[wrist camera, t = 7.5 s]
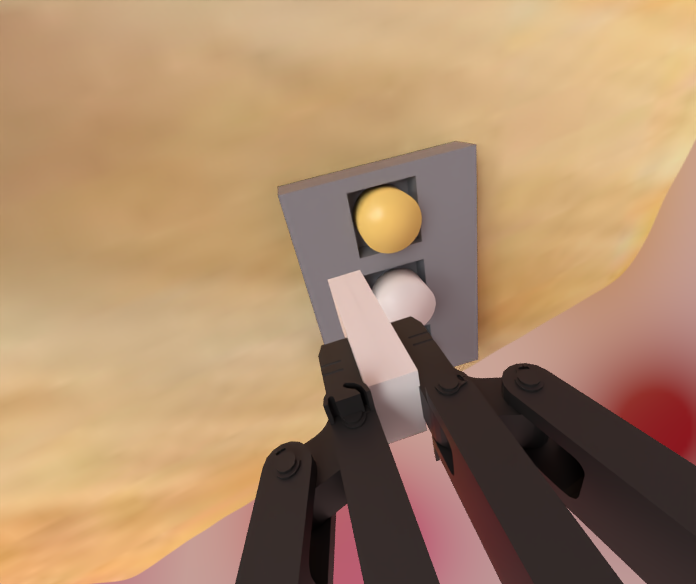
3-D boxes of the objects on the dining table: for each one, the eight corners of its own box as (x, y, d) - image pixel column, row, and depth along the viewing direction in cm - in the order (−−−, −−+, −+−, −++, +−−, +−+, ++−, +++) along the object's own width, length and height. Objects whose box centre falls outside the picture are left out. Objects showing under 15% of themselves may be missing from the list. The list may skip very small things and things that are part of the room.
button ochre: (347, 192, 24) (355, 200, 22) (404, 177, 25) (418, 184, 22) (358, 246, 27) (366, 260, 24) (410, 232, 27) (424, 244, 24)
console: (277, 186, 25) (277, 195, 22) (455, 141, 26) (476, 144, 23) (336, 378, 35) (341, 400, 32) (463, 341, 36) (478, 359, 33)
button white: (366, 276, 27) (376, 293, 24) (419, 261, 27) (433, 276, 24) (375, 320, 29) (385, 339, 26) (424, 306, 29) (437, 324, 27)
